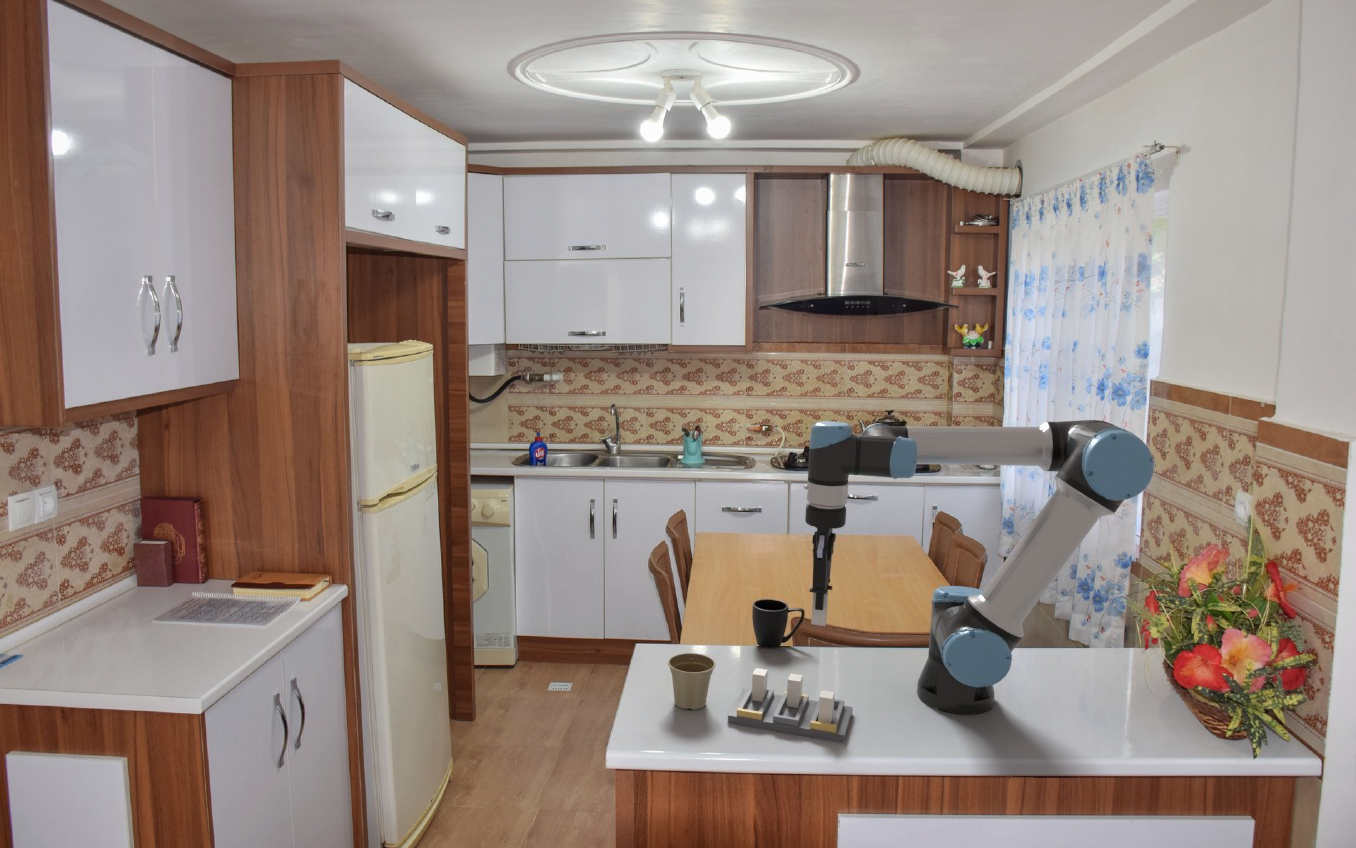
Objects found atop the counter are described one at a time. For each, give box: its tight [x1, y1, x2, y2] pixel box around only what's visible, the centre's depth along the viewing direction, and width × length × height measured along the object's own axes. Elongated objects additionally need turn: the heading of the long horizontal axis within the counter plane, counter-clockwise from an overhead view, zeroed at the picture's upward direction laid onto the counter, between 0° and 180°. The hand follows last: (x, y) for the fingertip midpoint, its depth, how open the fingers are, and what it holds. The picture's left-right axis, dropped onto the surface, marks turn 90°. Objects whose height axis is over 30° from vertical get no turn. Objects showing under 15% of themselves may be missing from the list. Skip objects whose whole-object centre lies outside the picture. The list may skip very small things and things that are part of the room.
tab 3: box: [818, 689, 835, 724], centre depth 170 cm, size 2×3×6 cm
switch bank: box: [727, 685, 854, 744], centre depth 175 cm, size 22×12×3 cm, turn 72°
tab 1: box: [751, 667, 769, 702], centre depth 179 cm, size 2×3×6 cm
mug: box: [751, 598, 805, 649], centre depth 210 cm, size 8×12×10 cm
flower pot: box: [667, 652, 717, 711], centre depth 180 cm, size 9×9×9 cm
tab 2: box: [786, 673, 804, 708], centre depth 177 cm, size 2×3×6 cm
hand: (818, 623), depth 174 cm, fingers closed
